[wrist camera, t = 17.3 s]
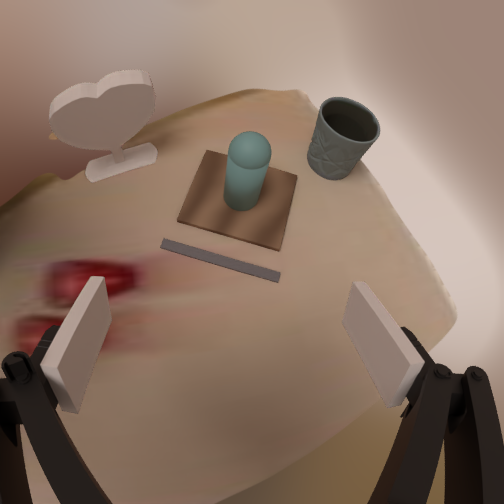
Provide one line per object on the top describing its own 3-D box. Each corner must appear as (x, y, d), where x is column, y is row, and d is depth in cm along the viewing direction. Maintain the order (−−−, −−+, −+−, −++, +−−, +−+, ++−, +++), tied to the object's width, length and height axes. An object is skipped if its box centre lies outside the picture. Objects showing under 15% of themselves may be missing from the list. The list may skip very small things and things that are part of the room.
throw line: (160, 247, 46) (160, 247, 45) (163, 238, 46) (163, 238, 46) (277, 282, 46) (278, 282, 46) (280, 273, 47) (280, 272, 46)
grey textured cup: (362, 176, 55) (391, 136, 44) (319, 191, 53) (344, 148, 42) (334, 135, 58) (356, 93, 47) (291, 146, 55) (308, 100, 44)
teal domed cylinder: (219, 205, 48) (224, 148, 36) (229, 177, 50) (237, 118, 38) (253, 215, 48) (269, 161, 36) (261, 186, 51) (279, 129, 38)
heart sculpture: (160, 139, 53) (148, 60, 36) (165, 159, 51) (154, 79, 34) (79, 164, 49) (44, 93, 32) (81, 186, 48) (42, 116, 31)
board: (177, 221, 47) (176, 219, 47) (206, 152, 53) (206, 149, 52) (278, 251, 48) (279, 249, 47) (296, 178, 53) (297, 175, 52)
